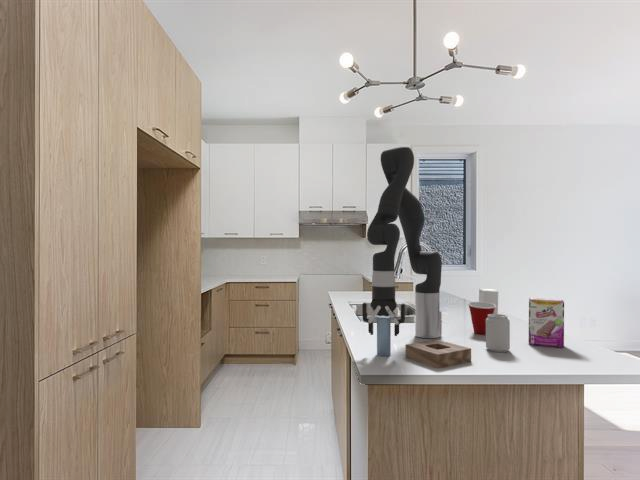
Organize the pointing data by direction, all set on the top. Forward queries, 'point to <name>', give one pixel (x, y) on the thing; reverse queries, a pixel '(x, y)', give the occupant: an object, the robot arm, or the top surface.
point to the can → (497, 333)
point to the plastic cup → (480, 315)
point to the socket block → (438, 353)
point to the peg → (383, 336)
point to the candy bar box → (546, 322)
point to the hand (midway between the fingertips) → (383, 334)
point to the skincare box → (489, 297)
